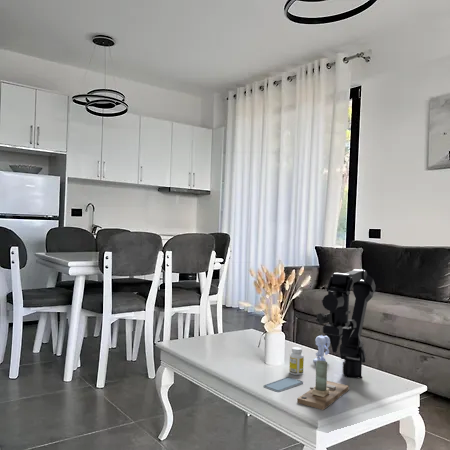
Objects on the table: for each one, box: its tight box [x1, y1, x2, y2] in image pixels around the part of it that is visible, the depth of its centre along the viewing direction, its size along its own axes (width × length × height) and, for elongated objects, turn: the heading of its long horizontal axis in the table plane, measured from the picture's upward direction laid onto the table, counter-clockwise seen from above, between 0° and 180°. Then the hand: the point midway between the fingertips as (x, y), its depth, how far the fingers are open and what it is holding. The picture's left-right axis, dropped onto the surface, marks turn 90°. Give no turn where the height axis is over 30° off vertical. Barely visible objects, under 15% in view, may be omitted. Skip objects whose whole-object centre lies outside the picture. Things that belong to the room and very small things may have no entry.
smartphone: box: [263, 376, 304, 393], centre depth 166 cm, size 7×1×15 cm
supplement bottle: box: [288, 346, 305, 376], centre depth 181 cm, size 5×5×10 cm
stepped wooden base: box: [296, 380, 350, 411], centre depth 156 cm, size 24×9×2 cm, turn 146°
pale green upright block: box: [309, 360, 329, 397], centre depth 154 cm, size 5×6×10 cm
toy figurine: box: [312, 334, 331, 363], centre depth 197 cm, size 7×6×12 cm
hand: (339, 349), depth 168 cm, fingers open, 9 cm apart
